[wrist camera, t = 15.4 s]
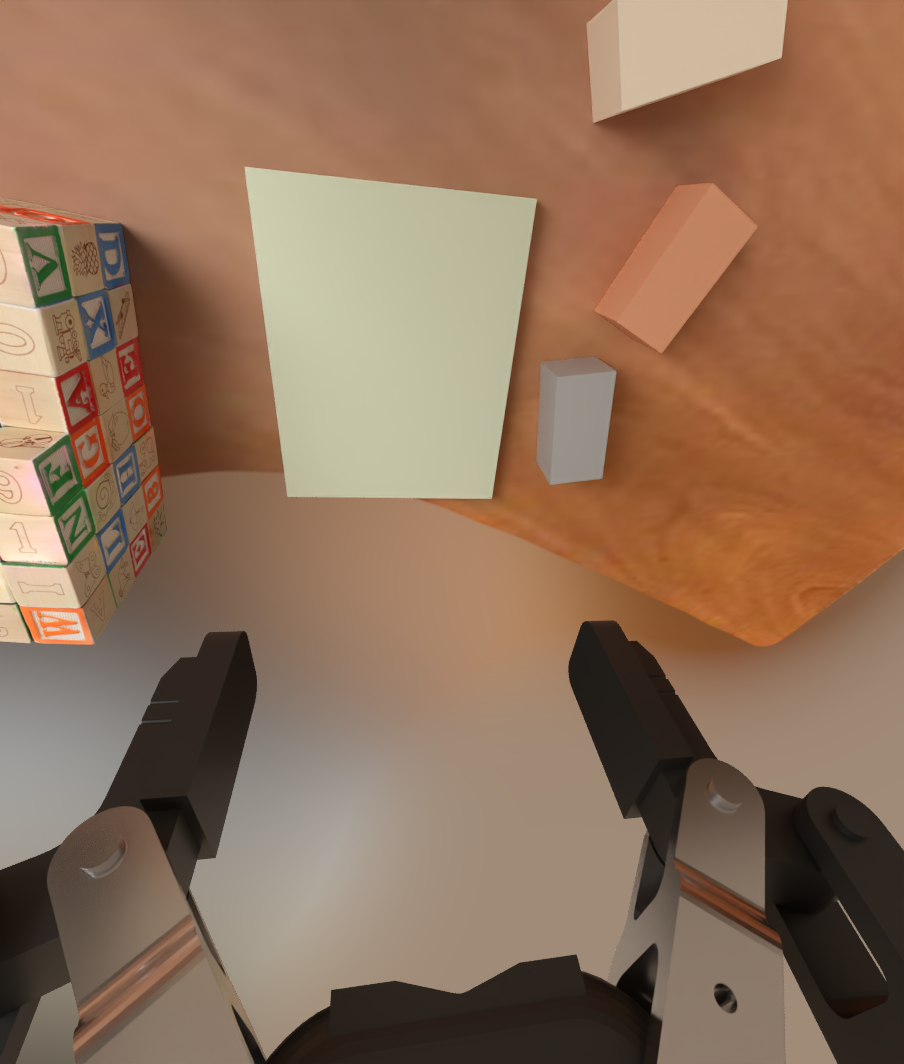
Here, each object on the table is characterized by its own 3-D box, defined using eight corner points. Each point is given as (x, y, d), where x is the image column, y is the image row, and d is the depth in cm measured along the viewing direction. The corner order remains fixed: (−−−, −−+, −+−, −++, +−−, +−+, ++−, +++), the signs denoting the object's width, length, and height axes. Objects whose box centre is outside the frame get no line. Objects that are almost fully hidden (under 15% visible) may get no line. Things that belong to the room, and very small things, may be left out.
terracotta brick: (674, 185, 29) (712, 182, 25) (717, 224, 30) (758, 226, 27) (592, 310, 32) (616, 321, 29) (634, 339, 34) (661, 353, 30)
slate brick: (540, 361, 34) (557, 377, 30) (593, 355, 34) (616, 371, 31) (535, 461, 38) (550, 484, 35) (583, 455, 39) (602, 478, 35)
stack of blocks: (-7, 192, 25) (-269, 181, 15) (124, 221, 26) (-34, 228, 16) (81, 524, 36) (-34, 644, 26) (169, 532, 38) (92, 649, 28)
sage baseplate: (249, 168, 26) (244, 166, 25) (531, 198, 28) (537, 198, 27) (289, 489, 37) (287, 496, 36) (488, 491, 39) (491, 498, 38)
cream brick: (737, -29, 24) (794, -66, 21) (731, 76, 26) (781, 57, 23) (585, 24, 24) (617, -4, 21) (592, 123, 27) (621, 111, 23)
